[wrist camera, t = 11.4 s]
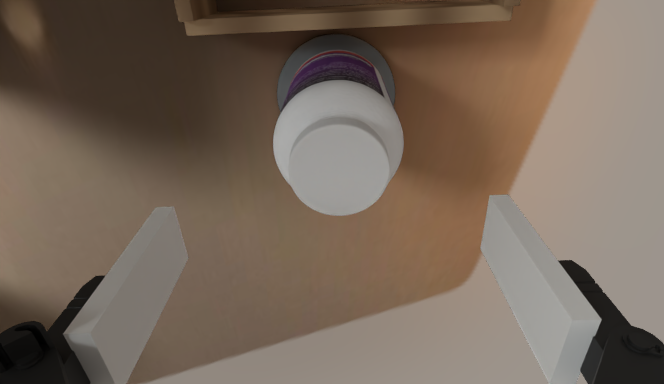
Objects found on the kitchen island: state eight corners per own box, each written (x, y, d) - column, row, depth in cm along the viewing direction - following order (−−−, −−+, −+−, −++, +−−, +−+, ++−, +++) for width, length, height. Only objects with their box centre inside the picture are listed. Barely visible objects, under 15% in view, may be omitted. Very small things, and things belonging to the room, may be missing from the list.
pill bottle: (270, 92, 34) (230, 166, 21) (342, 24, 31) (345, 64, 19) (333, 158, 37) (331, 257, 24) (404, 101, 34) (442, 180, 22)
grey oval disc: (284, 150, 37) (283, 153, 37) (271, 36, 32) (270, 37, 32) (392, 146, 37) (393, 149, 36) (396, 30, 32) (397, 31, 31)
